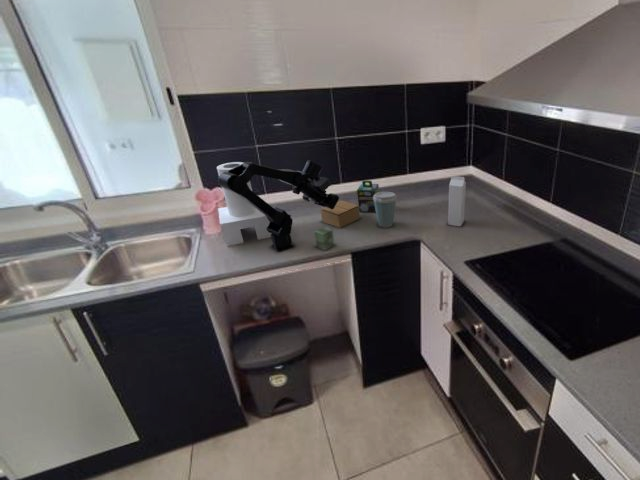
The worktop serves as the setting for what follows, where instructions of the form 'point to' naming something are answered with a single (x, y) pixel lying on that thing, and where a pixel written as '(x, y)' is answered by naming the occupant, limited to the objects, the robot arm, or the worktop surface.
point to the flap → (335, 210)
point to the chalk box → (367, 196)
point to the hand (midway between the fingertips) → (332, 206)
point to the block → (324, 238)
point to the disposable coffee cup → (385, 208)
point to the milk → (456, 201)
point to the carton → (341, 215)
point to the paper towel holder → (239, 214)
